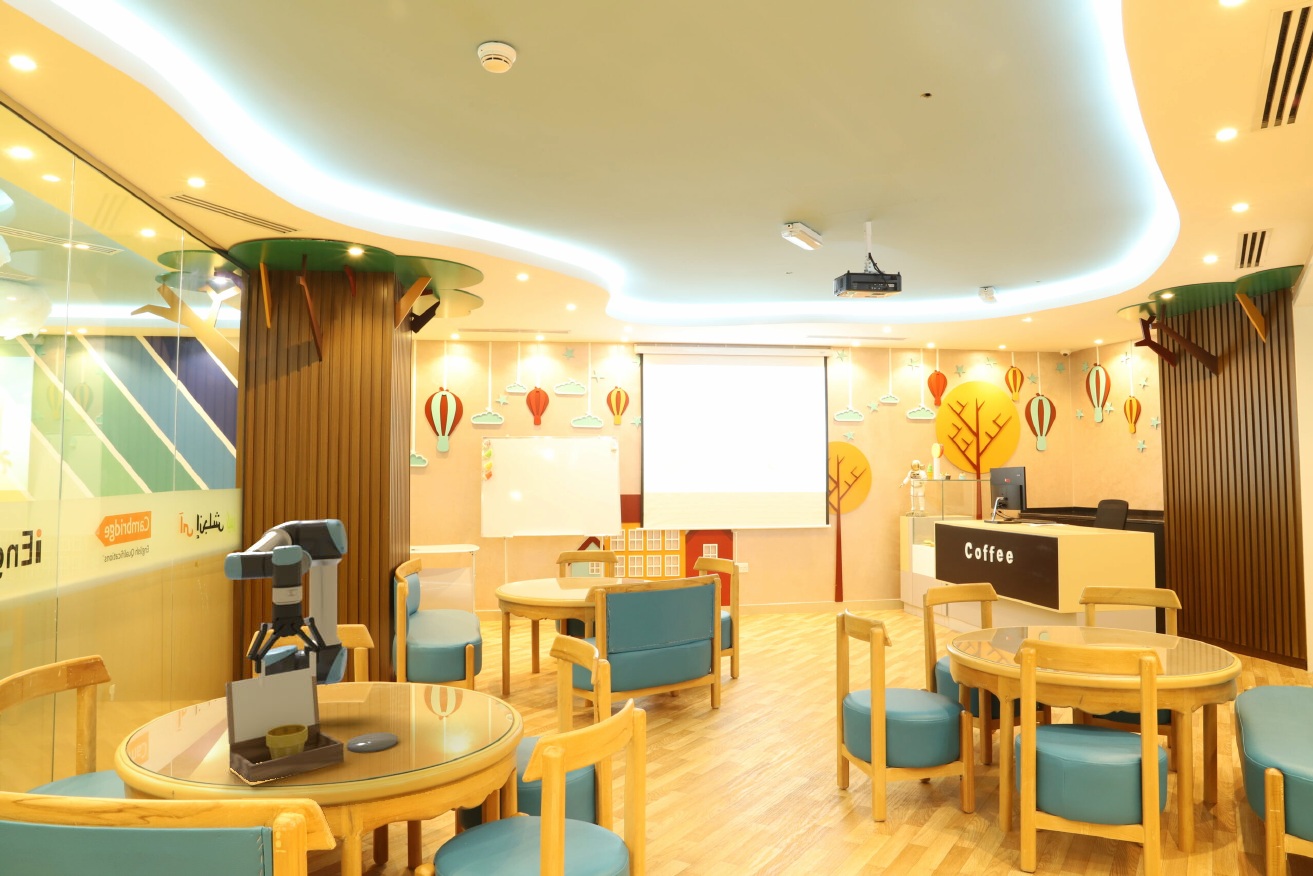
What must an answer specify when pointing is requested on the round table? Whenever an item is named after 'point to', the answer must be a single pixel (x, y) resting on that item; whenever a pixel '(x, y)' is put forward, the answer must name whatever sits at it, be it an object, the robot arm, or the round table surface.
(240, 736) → the lid
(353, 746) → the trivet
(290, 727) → the plant pot
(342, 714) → the round table surface
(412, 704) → the round table surface
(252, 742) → the cold frame
